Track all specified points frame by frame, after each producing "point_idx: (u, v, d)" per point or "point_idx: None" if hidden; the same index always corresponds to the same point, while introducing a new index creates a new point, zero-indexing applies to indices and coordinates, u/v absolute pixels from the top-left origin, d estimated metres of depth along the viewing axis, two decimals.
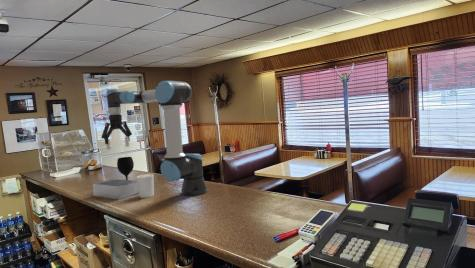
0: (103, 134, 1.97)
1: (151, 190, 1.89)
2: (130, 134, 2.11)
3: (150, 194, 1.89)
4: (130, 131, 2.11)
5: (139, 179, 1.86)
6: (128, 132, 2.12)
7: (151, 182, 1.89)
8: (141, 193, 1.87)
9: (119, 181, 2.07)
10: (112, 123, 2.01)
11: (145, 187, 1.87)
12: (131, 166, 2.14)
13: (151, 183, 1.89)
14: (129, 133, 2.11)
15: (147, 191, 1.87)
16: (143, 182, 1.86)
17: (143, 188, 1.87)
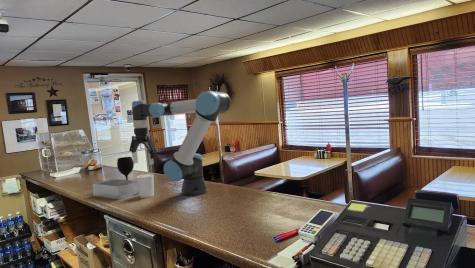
0: None
1: (151, 190, 1.89)
2: (151, 151, 1.84)
3: (150, 194, 1.89)
4: (151, 148, 1.83)
5: (139, 179, 1.86)
6: (154, 148, 1.85)
7: (151, 182, 1.89)
8: (141, 193, 1.87)
9: (119, 181, 2.07)
10: (136, 137, 1.90)
11: (145, 187, 1.87)
12: (131, 166, 2.14)
13: (151, 183, 1.89)
14: None
15: (147, 191, 1.87)
16: (143, 182, 1.86)
17: (143, 188, 1.87)
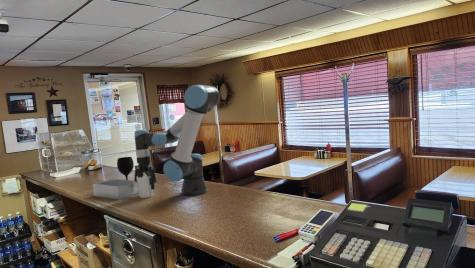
0: None
1: None
2: (152, 182, 1.86)
3: None
4: (152, 179, 1.86)
5: (139, 179, 1.86)
6: None
7: None
8: (141, 193, 1.87)
9: (119, 181, 2.07)
10: (138, 165, 1.91)
11: (145, 187, 1.87)
12: (131, 166, 2.14)
13: None
14: None
15: (147, 191, 1.87)
16: (143, 182, 1.86)
17: (143, 188, 1.87)
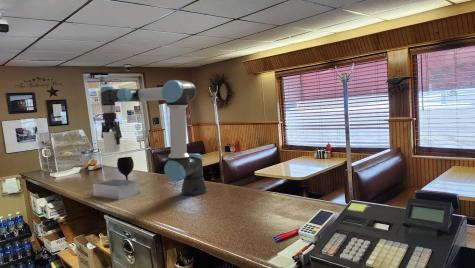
0: None
1: None
2: (117, 137, 1.91)
3: None
4: (117, 134, 1.91)
5: (104, 134, 1.91)
6: None
7: None
8: (107, 148, 1.93)
9: (119, 181, 2.07)
10: (105, 122, 1.96)
11: (110, 142, 1.92)
12: (131, 166, 2.14)
13: None
14: None
15: (112, 146, 1.92)
16: (108, 136, 1.91)
17: (108, 142, 1.92)
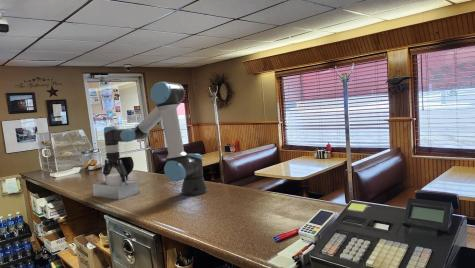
0: None
1: None
2: (122, 175, 1.92)
3: None
4: (122, 172, 1.92)
5: (109, 178, 1.93)
6: (125, 172, 1.93)
7: None
8: None
9: None
10: (108, 161, 1.98)
11: (115, 185, 1.93)
12: (131, 166, 2.14)
13: None
14: None
15: None
16: (113, 180, 1.93)
17: None
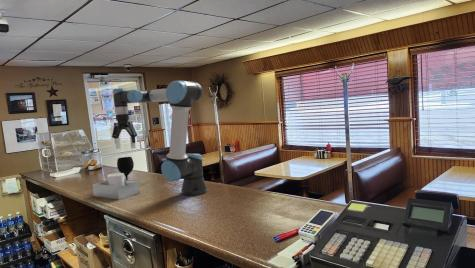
0: None
1: None
2: (133, 135, 1.94)
3: None
4: (133, 132, 1.94)
5: (109, 178, 1.93)
6: None
7: (121, 181, 1.95)
8: None
9: None
10: (118, 123, 2.00)
11: (115, 185, 1.93)
12: (131, 166, 2.14)
13: (121, 182, 1.95)
14: None
15: None
16: (113, 180, 1.93)
17: None
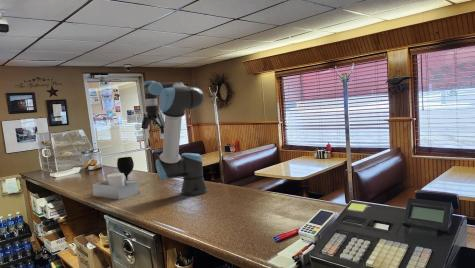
0: None
1: None
2: (162, 126, 2.03)
3: None
4: (162, 123, 2.02)
5: (109, 178, 1.93)
6: (164, 124, 2.04)
7: (121, 181, 1.95)
8: None
9: None
10: (147, 114, 2.09)
11: (115, 185, 1.93)
12: (131, 166, 2.14)
13: (121, 182, 1.95)
14: None
15: None
16: (113, 180, 1.93)
17: None
